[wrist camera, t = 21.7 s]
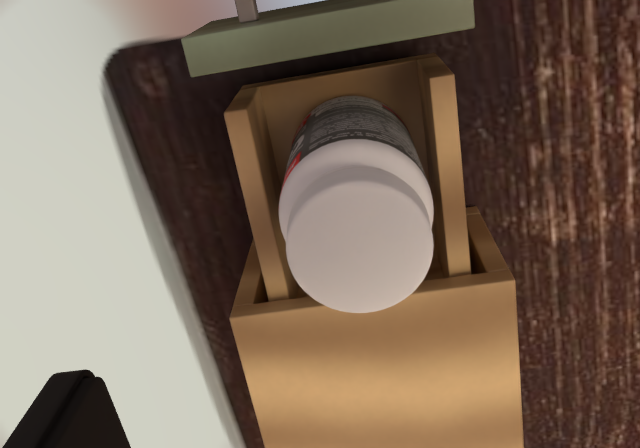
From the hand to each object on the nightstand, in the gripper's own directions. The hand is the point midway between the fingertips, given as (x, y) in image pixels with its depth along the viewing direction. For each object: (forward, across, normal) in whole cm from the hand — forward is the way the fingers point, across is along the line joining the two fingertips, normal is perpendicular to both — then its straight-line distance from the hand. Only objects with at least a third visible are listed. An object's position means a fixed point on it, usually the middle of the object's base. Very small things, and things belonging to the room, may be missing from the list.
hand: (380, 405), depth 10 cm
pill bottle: (+15, 0, +1) cm, 15 cm away
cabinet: (+17, +1, +11) cm, 20 cm away
